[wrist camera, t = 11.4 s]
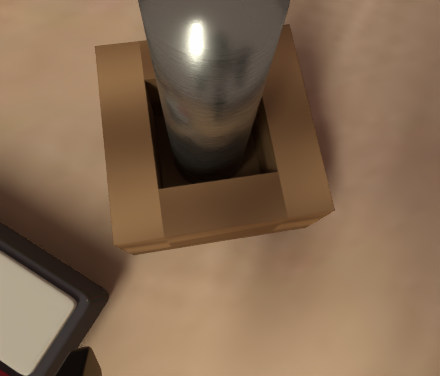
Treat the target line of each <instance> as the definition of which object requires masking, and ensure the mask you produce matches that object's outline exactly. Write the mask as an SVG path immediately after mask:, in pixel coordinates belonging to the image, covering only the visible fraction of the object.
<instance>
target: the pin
mask: <svg viewBox="0 0 440 376" xmlns="http://www.w3.org/2000/svg"><path fill="white" fill-rule="evenodd" d="M138 2H139V7H140V11H141V16H142V20H143V25H144V29H145V33H146V38H147V42H148V47H149V51H150V56H151V60H152V65H153V69H154V74H155V78H156V83H157V87H158V91H159V96H160V100H161V105H162V109H163V114H164V118H165V123H166V127H167V132H168V136H169V141H170V145H171V150H172V154H173V158H174V163H175V166H176V168H177V170H178V171H179V173H180V174H181V175H182V176H183V177H184V178H185V179H186V180H187V181H189V182H190V183H192V184H197V183H204V182H211V181H218V180H225V179H231V178H232V177H233V176H234V175H235V174H236V173H237V171H238V170H239V168H240V165H241V162H242V159H243V156H244V152H245V149H246V146H247V142H248V139H249V136H250V133H251V129H252V126H253V123H254V119H255V116H256V113H257V110H258V106H259V103H260V100H261V96H262V93H263V90H264V87H265V83H266V80H267V77H268V73H269V70H270V67H271V64H272V60H273V57H274V54H275V50H276V47H277V44H278V41H279V37H280V34H281V31H282V27H283V24H284V21H285V18H286V14H287V11H288V8H289V3H290V0H138Z"/></svg>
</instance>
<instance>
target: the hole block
mask: <svg viewBox="0 0 440 376" xmlns="http://www.w3.org/2000/svg"><path fill="white" fill-rule="evenodd" d="M95 52H96V63H97V74H98V84H99V95H100V106H101V116H102V127H103V138H104V148H105V159H106V169H107V180H108V191H109V201H110V212H111V223H112V233H113V244H114V246H116V247H118V248H120V249H122V250H125V251H127V252H129V253H131V254H133V255H137V254H144V253H150V252H156V251H162V250H169V249H175V248H181V247H187V246H194V245H200V244H206V243H212V242H219V241H225V240H231V239H237V238H244V237H250V236H256V235H262V234H269V233H275V232H281V231H287V230H294V229H300V228H306V227H308V226H309V225H311V224H313V223H314V222H316V221H318V220H319V219H321V218H323V217H324V216H326V215H328V214H330V213H331V212H333V211H335V209H334V205H333V201H332V197H331V192H330V188H329V184H328V180H327V176H326V172H325V168H324V164H323V160H322V156H321V152H320V148H319V143H318V139H317V135H316V131H315V127H314V123H313V119H312V115H311V111H310V107H309V103H308V99H307V94H306V90H305V86H304V82H303V78H302V74H301V70H300V66H299V62H298V58H297V54H296V50H295V46H294V41H293V37H292V33H291V29H290V25H289V24H288V25H283V27H282V31H281V34H280V37H279V41H278V44H277V47H276V50H275V54H274V57H273V60H272V64H271V67H270V70H269V73H268V77H267V80H266V83H265V87H264V90H263V93H262V96H261V100H260V103H259V106H258V110H257V113H256V116H255V119H254V123H253V126H252V129H251V133H250V136H249V139H248V142H247V146H246V149H245V152H244V156H243V159H242V162H241V165H240V168H239V170H238V171H237V173H236V174H235V175H234V176H233V177H232V178H231V179H225V180H218V181H211V182H204V183H197V184H192V183H190V182H189V181H187V180H186V179H185V178H184V177H183V176H182V175H181V174H180V173H179V171H178V170H177V168H176V166H175V163H174V158H173V154H172V150H171V145H170V141H169V136H168V132H167V127H166V123H165V118H164V114H163V109H162V105H161V100H160V96H159V91H158V87H157V83H156V78H155V74H154V69H153V65H152V60H151V56H150V51H149V47H148V42H147V40H146V41H137V42H128V43H119V44H110V45H102V46H95Z"/></svg>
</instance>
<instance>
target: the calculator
mask: <svg viewBox="0 0 440 376" xmlns="http://www.w3.org/2000/svg"><path fill="white" fill-rule="evenodd" d="M108 298H109V296H108V293H107V291H106V290H105V289H103V288H102V287H100V286H99V285H97V284H96V283H94V282H92V281H91V280H89V279H88V278H86V277H85V276H83V275H82V274H80V273H78V272H77V271H75V270H74V269H72V268H71V267H69V266H67V265H66V264H64V263H63V262H61V261H60V260H58V259H57V258H55V257H53V256H52V255H50V254H49V253H47V252H46V251H44V250H43V249H41V248H39V247H38V246H36V245H35V244H33V243H32V242H30V241H28V240H27V239H25V238H24V237H22V236H21V235H19V234H18V233H16V232H14V231H13V230H11V229H10V228H8V227H7V226H5V225H4V224H2V223H0V376H55V374H56V372H57V371H58V369H59V368H60V366H61V365H62V363H63V361H64V360H65V358H66V357H67V355H68V354H69V353H70V351H72V350H74V349H77V348H78V346H79V345H80V343H81V341H82V340H83V338H84V337H85V335H86V334H87V332H88V331H89V329H90V328H91V326H92V325H93V323H94V322H95V320H96V318H97V317H98V315H99V314H100V312H101V311H102V309H103V308H104V306H105V305H106V303H107V301H108Z"/></svg>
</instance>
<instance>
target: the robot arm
mask: <svg viewBox="0 0 440 376" xmlns="http://www.w3.org/2000/svg"><path fill="white" fill-rule="evenodd" d="M55 376H102V372H101V368H100V366H99V363H98V361H97V359H96V357H95V354H94V352H93V350H92V348H91V347H89V346H88V347H82V348H77V349H74V350H72V351H70V353H69V354H68V355H67V357H66V358H65V360H64V361H63V363H62V365H61V366H60V368H59V369H58V371H57V372H56V374H55Z"/></svg>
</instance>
